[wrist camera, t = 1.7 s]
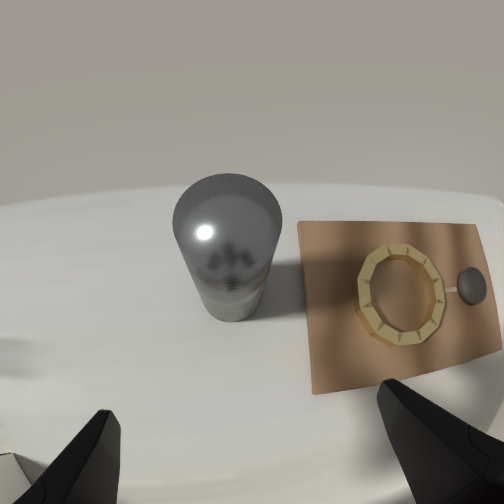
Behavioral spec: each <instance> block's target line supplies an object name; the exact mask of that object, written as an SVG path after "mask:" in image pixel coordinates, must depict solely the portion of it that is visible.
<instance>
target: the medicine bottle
mask: <svg viewBox="0 0 504 504" xmlns="http://www.w3.org/2000/svg"><path fill="white" fill-rule="evenodd" d="M30 487H31V484H30V482H29V481H28V479H27V477H26V476H25V474H24V472H23V471H22V469H21V467H20V465H19V464H18V462H17V460H16V458H15V456H14V455H13V453H4V454H0V504H12V503H13V502H15V501H16V500H17V499H18V498H19V497H20V496H21V495H22V494H23V493H24V492H26V491H27V490H28V489H29V488H30Z"/></svg>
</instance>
